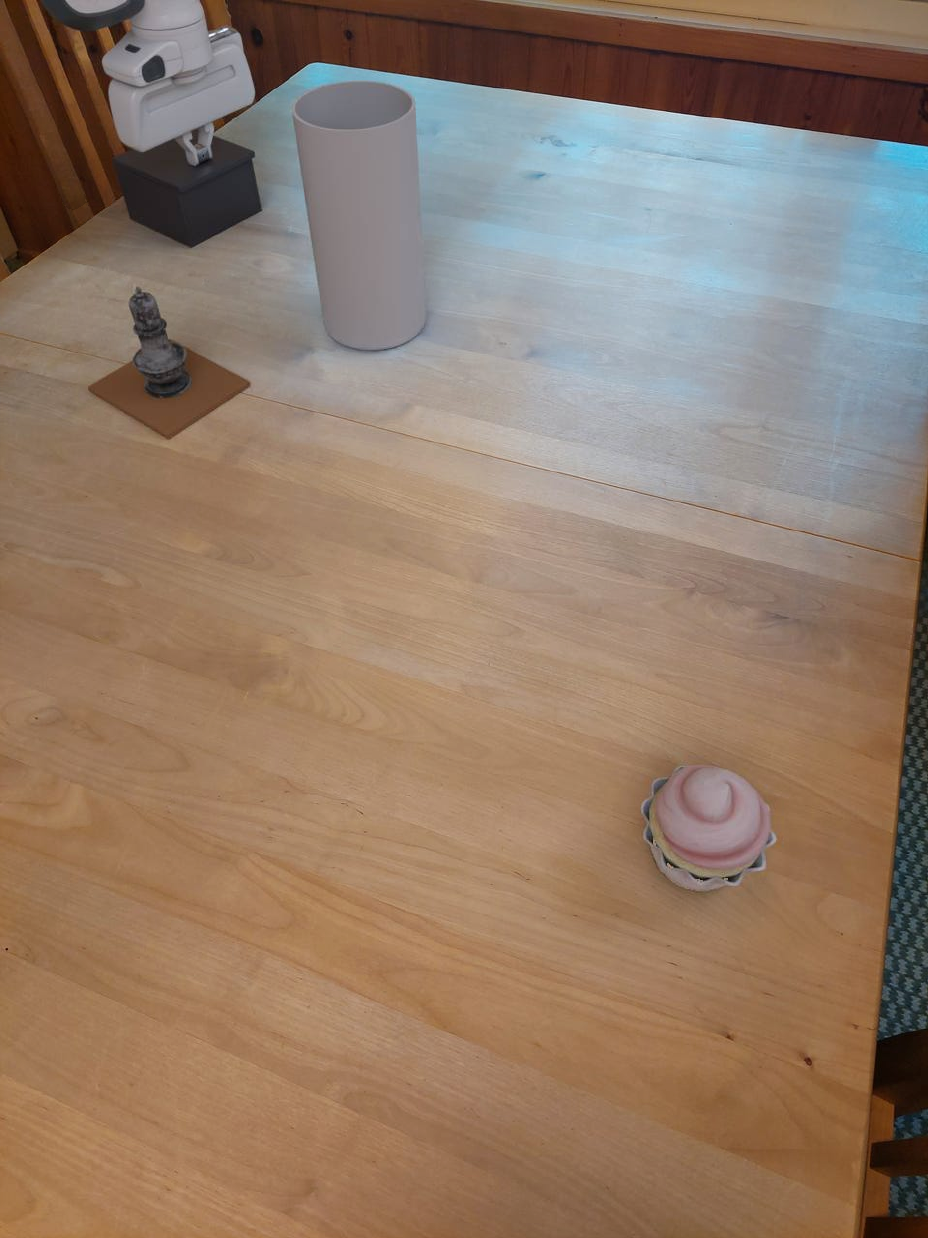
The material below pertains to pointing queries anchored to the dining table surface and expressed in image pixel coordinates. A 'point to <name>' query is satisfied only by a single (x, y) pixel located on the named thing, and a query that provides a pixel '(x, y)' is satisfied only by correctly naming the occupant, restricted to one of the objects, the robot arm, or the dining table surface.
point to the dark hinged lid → (183, 162)
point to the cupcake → (707, 827)
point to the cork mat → (174, 412)
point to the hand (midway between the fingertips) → (200, 161)
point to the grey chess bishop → (157, 350)
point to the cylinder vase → (363, 210)
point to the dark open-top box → (192, 203)
